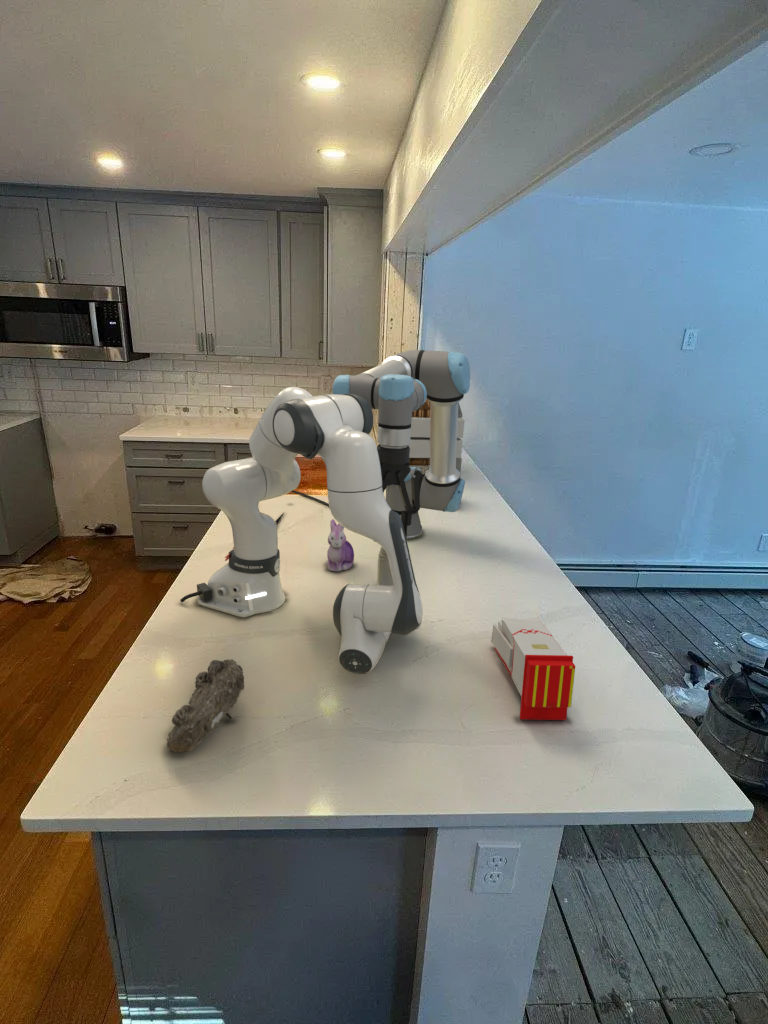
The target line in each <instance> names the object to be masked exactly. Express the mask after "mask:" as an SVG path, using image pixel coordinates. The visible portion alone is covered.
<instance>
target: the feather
mask: <svg viewBox="0 0 768 1024" xmlns="http://www.w3.org/2000/svg"><path fill="white" fill-rule="evenodd" d="M290 505H291V503H290ZM284 514H285V512H283V513H282V514H281V515H279V516H278V518H277V519H276V520H274V521H275V522H276V524H277V525H279V522H280V521H281V519H282V517H283V515H284Z"/></svg>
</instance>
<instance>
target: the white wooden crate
mask: <svg viewBox="0 0 768 1024" xmlns="http://www.w3.org/2000/svg"><path fill="white" fill-rule="evenodd" d="M464 429H465V419H464V418H463V411H462V408H461V405H460V402H459V403H458V426H457V450H456V469H457V470H458V471H459V472H460V475H461V472H462V461H463V460H462V453H463V442H464V441H463V440H462V439H463V438H464V431H465V430H464ZM408 446H409V448H410V455H409V466H410V467H417V466H418V467H430V401H429V400H427V399H426V401H425V402H424V404H423V405H422V406H421V407H420V409H418V410H416V411H413V412H412V420H411V439H410V444H409V445H408Z"/></svg>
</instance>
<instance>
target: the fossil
mask: <svg viewBox="0 0 768 1024" xmlns="http://www.w3.org/2000/svg"><path fill="white" fill-rule="evenodd" d="M243 670H244V669H243V667H242V665H240V664H237V662H236V661H235V660H234V659H232V658H231V659H227V658H226V659H224V660H223V661H222V660H217V659H212V660H211V661H210V663H209V665H208V666H207V671H201V672H199V673H198V674H197V675H196V676H195V680H194V684H195V685H194V687H195V689H194V690H193V693H192V694H191V697H190V698H189V700H188V704H184V705H182V706H181V707H180V709H177V710H176V711H175V713H174V715H173V716H172V718H171V723H172V724H173V727H172V730H171V731H170V732H168V734H167V738H166V741H167V742H166V745H167V749H168V750H169V751H173V752H174V753H176V754H178V753H182V752H188V751H189V752H192V751H193V750H195V748H196V747H197V746H199V744H200V743H201V742H203V741H204V740H205V739H206V738H207V737H208V736H209V735H210V734H211V733H212V732H214V730H215V729H217V727H218V726H219V724H220V722H221V721H222V720H223V719H224V718H225V716H226V717H227V719H229V720H233V717H232V715H230V714H229V710H230V709H231V708H234V706H235V704H236V703H237V702H238V699H239V697H240V695H241V693H242V691H243V690H245V689H244V688H245V675H244V671H243Z"/></svg>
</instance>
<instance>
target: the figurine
mask: <svg viewBox="0 0 768 1024" xmlns="http://www.w3.org/2000/svg"><path fill="white" fill-rule="evenodd" d="M329 524H330V525H329V526H330V532H329V534H328V536H327V543H328V545H329V547H328V548H327V552H326V553H327V555H326V556H327V562H326V565H327V570H328V571H332V572H341V571H346V570H348V569H350V568H352V567H353V566H354V560H355V551H354V548H353V545H352V544H351V542H349V541H348V540H347V535H346V534H345V532H344V529H345V527H343V526H342V525H341V524H340V523H338V524H337V523H336V520H335V518H332V519H330V523H329Z"/></svg>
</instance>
